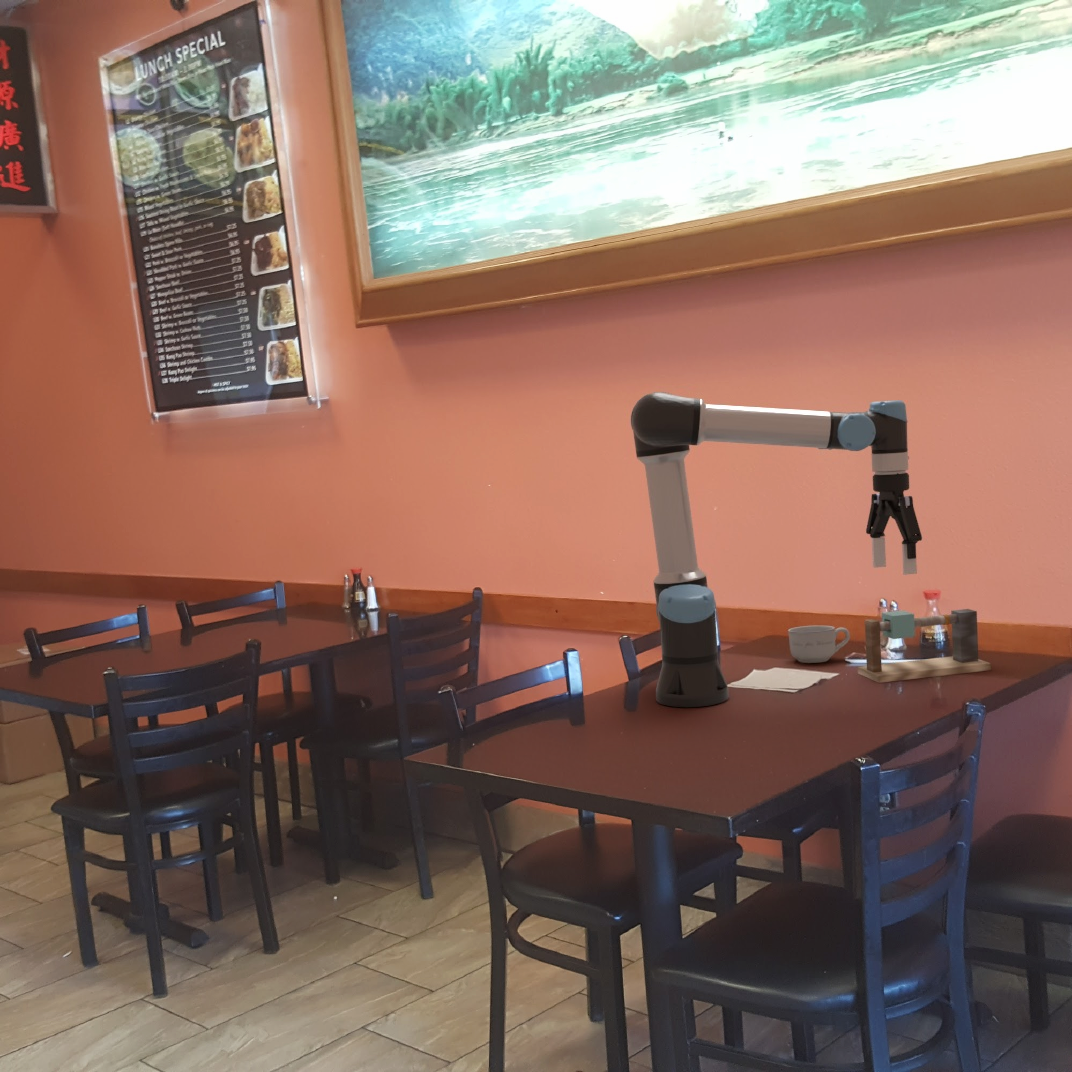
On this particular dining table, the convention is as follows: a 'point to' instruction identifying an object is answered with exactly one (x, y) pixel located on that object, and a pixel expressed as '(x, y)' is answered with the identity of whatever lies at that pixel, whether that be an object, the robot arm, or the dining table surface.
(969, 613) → the rod stand
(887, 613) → the sleeve
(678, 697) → the robot arm
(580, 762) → the dining table surface
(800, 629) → the teacup
